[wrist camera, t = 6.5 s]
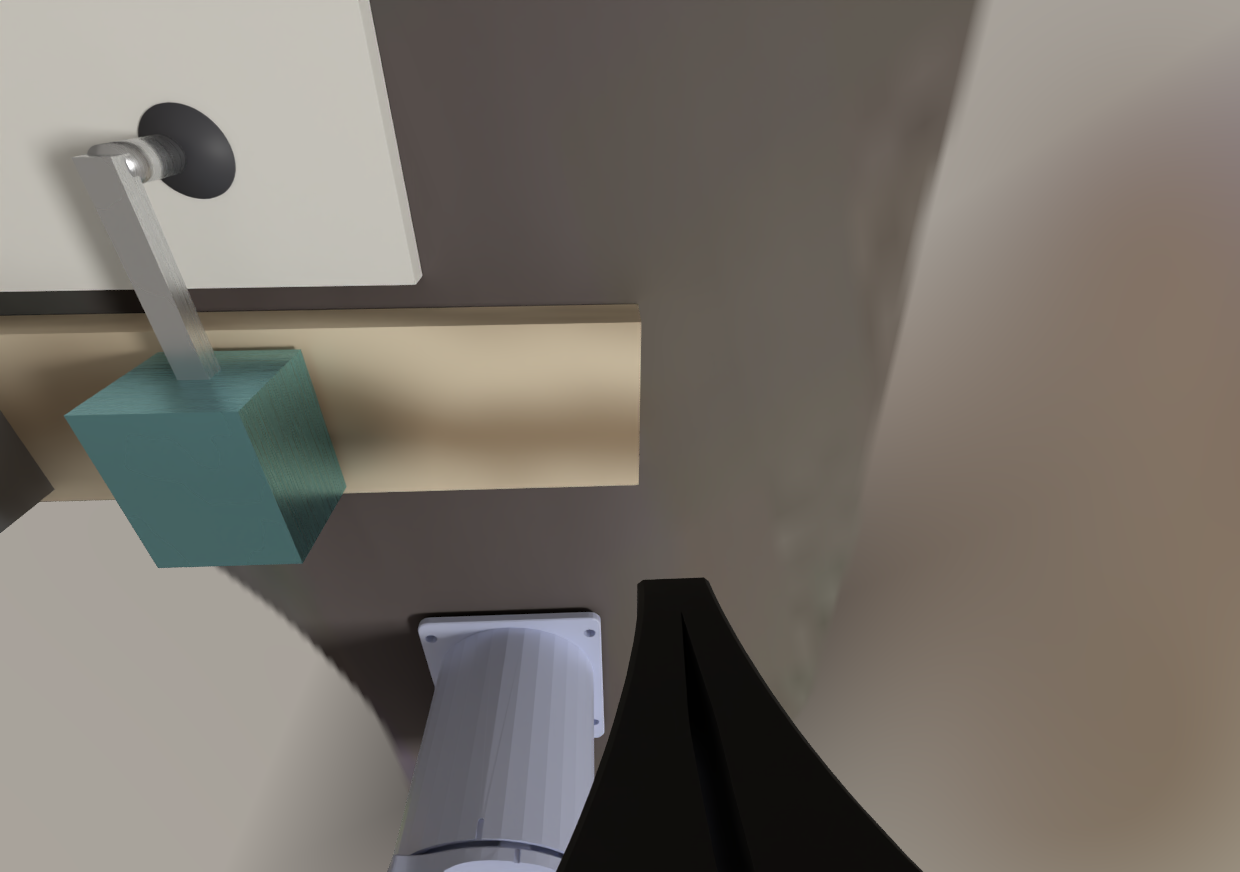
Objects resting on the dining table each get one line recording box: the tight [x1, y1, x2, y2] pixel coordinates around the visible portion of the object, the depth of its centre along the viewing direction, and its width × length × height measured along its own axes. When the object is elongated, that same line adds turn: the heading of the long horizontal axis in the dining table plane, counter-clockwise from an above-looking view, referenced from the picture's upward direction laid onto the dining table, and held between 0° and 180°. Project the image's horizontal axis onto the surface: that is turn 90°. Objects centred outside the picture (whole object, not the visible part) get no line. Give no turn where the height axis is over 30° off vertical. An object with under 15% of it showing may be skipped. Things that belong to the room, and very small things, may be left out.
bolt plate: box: [0, 0, 422, 292], centre depth 15 cm, size 7×18×1 cm, turn 90°
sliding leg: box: [64, 134, 347, 568], centre depth 15 cm, size 10×4×4 cm, turn 0°
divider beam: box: [0, 304, 641, 533], centre depth 16 cm, size 11×24×5 cm, turn 90°
